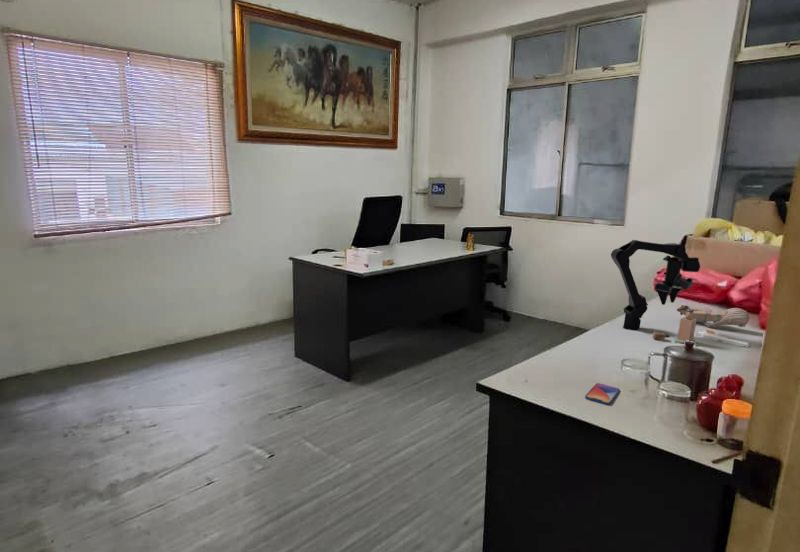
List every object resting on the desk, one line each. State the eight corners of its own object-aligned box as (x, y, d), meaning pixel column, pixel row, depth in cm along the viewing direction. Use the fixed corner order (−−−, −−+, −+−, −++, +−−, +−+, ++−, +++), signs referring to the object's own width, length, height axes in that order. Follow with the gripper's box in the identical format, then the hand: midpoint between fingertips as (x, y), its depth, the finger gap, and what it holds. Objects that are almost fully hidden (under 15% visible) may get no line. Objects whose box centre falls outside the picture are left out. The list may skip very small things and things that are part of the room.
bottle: (677, 339, 215) (682, 309, 212) (681, 337, 217) (686, 307, 215) (688, 342, 211) (693, 311, 208) (692, 340, 214) (698, 310, 211)
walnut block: (654, 340, 215) (655, 333, 214) (652, 337, 219) (653, 331, 218) (664, 341, 214) (665, 335, 213) (662, 339, 217) (663, 332, 217)
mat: (674, 342, 213) (675, 340, 212) (674, 337, 220) (674, 336, 220) (696, 346, 209) (696, 344, 209) (694, 341, 216) (694, 339, 216)
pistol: (751, 343, 219) (747, 349, 211) (700, 332, 232) (694, 337, 224) (752, 338, 218) (748, 343, 210) (701, 327, 232) (695, 332, 224)
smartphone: (620, 392, 158) (620, 388, 158) (609, 406, 146) (609, 403, 146) (596, 385, 162) (596, 382, 162) (584, 399, 150) (584, 396, 150)
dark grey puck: (654, 335, 221) (654, 335, 221) (654, 332, 227) (654, 331, 227) (669, 338, 219) (669, 337, 219) (668, 334, 224) (668, 334, 224)
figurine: (675, 328, 249) (747, 338, 231) (675, 308, 245) (748, 316, 226) (679, 317, 257) (749, 325, 239) (679, 297, 253) (750, 304, 235)
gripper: (682, 275, 214) (677, 310, 217) (700, 272, 225) (694, 305, 228) (656, 271, 222) (651, 304, 225) (675, 268, 234) (669, 300, 237)
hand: (667, 303), depth 229 cm, fingers open, 9 cm apart
